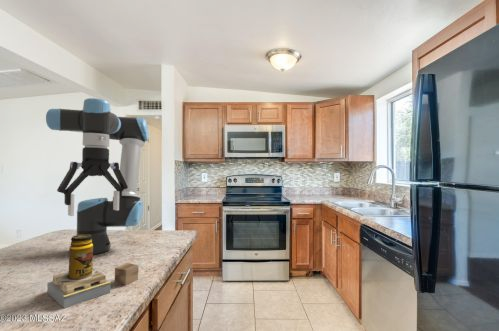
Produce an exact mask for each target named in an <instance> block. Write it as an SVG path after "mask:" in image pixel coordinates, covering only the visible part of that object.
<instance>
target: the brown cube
mask: <svg viewBox="0 0 499 331" xmlns="http://www.w3.org/2000/svg"><path fill="white" fill-rule="evenodd" d="M138 280H139V264H135V263H130V262H126V263H124V264H121V265H119V266H116V267H115V268H114V284H117V285H121V286H129V285H130V284H133V283H134V282H137V281H138Z"/></svg>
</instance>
